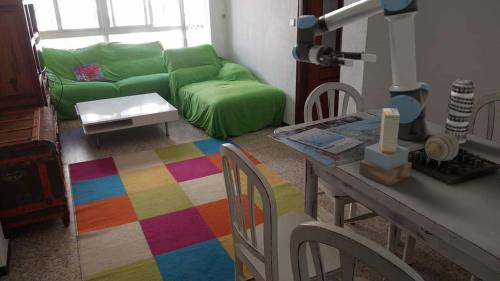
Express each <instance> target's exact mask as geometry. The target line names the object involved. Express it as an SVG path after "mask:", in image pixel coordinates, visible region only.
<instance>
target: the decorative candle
mask: <svg viewBox="0 0 500 281" xmlns="http://www.w3.org/2000/svg"><path fill="white" fill-rule="evenodd" d="M476 86H477V85H476V84H475V83H474V81H472V80H471V79H464V78H463V79H456V80H455V81H454V82H453V83H452V90H451V93H449V96H448V99H449V100H448V103H447V107H448V108H447V113H448V115H447V118H446V122H445V126H444V132H443V133H448V134H451V135H453V136H455V137H456V138H457V140H458V142H459V144H465V143H466V142H467V139H468V138H467V137H468V131H469V127H470V125H469V119H470V115H471V114H472V113H473V112H472V110H473V107H472V106H471V105H474V102H473V101H475V98H474V94H475V92H474V90H475V87H476Z"/></svg>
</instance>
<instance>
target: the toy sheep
mask: <svg viewBox="0 0 500 281" xmlns="http://www.w3.org/2000/svg"><path fill="white" fill-rule="evenodd" d="M459 149H460V143H459V142H458V140H457V138H456V137H455V136H453V135H451V134H448V133H444V132H441V133H435V134H433V135H431V136H430V137H429V138H428V139H427V140H426V142H425V145H424V151H425V154H426V157H427V156H428V157H429V158H432V159H434V158H435V159H439V160H452V161H453V159H454V158H456V157H457V155H458V153H459ZM432 159H431V160H432Z"/></svg>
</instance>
